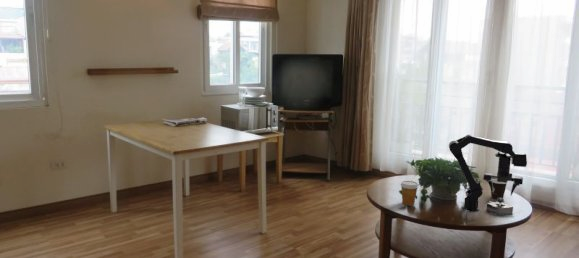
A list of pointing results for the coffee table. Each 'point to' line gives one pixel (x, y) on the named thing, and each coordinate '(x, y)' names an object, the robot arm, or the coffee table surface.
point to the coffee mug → (498, 189)
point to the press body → (499, 208)
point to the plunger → (500, 200)
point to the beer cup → (409, 192)
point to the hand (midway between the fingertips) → (501, 194)
